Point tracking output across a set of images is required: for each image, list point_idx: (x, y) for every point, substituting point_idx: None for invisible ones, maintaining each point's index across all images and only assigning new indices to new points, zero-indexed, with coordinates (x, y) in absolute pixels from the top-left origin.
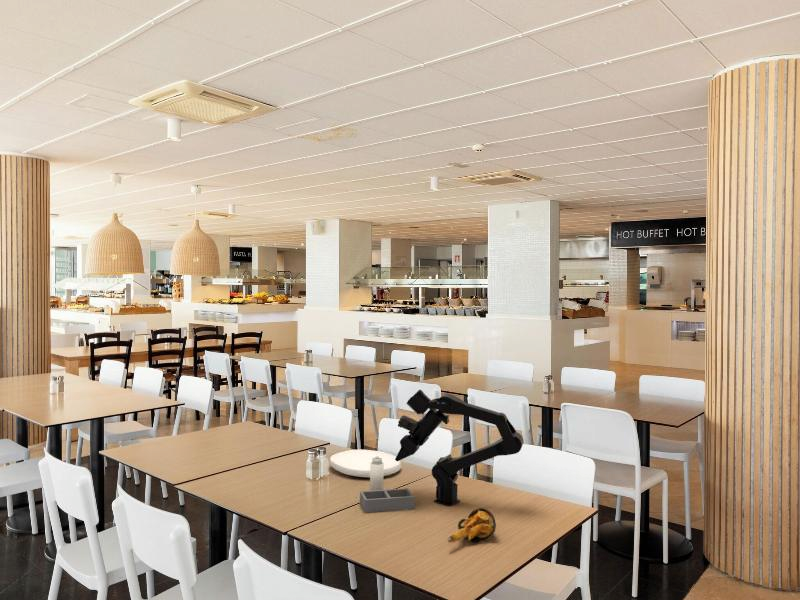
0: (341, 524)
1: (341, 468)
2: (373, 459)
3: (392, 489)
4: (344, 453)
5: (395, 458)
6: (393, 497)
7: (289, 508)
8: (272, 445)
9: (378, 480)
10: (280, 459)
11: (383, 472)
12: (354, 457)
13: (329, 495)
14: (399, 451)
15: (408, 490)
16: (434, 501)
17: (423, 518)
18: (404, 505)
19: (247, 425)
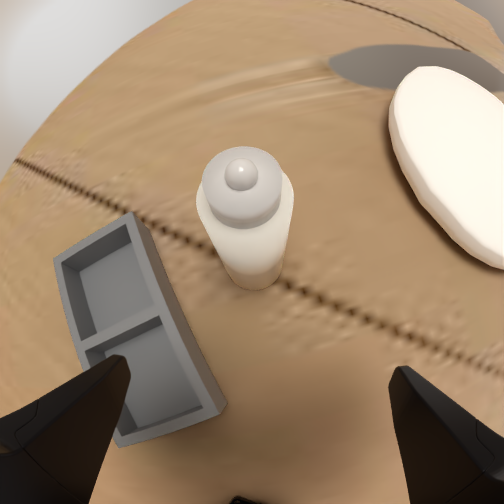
0: (19, 236)
1: (394, 94)
2: (215, 160)
3: (181, 343)
4: (472, 88)
5: (107, 358)
6: (87, 362)
7: (109, 98)
8: (451, 24)
9: (218, 254)
10: (406, 25)
11: (252, 261)
12: (464, 109)
13: (210, 124)
14: (30, 406)
15: (188, 421)
16: (232, 498)
17: None
18: None
19: (480, 17)
